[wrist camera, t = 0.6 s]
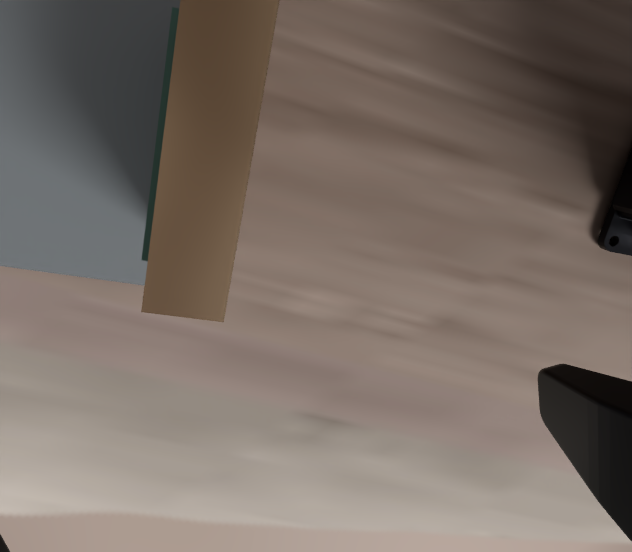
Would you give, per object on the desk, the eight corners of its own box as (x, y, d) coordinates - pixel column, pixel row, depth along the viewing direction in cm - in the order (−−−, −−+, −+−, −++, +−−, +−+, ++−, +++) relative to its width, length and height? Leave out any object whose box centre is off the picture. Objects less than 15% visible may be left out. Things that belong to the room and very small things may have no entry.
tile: (256, 32, 18) (283, -25, 11) (221, 244, 20) (223, 322, 13) (193, 15, 18) (174, -57, 10) (164, 235, 20) (130, 310, 12)
